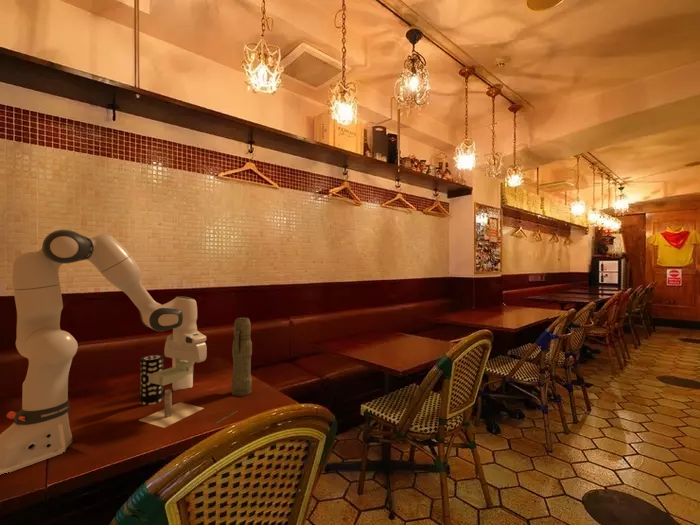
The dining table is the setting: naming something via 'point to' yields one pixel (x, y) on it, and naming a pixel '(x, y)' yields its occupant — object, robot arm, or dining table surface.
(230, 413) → the mat
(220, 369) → the dining table surface
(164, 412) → the post stand
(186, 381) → the alcohol
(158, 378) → the link
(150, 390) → the white-spotted black cylinder
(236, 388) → the stone moai statue
